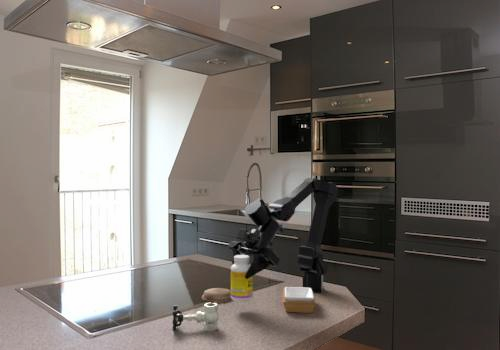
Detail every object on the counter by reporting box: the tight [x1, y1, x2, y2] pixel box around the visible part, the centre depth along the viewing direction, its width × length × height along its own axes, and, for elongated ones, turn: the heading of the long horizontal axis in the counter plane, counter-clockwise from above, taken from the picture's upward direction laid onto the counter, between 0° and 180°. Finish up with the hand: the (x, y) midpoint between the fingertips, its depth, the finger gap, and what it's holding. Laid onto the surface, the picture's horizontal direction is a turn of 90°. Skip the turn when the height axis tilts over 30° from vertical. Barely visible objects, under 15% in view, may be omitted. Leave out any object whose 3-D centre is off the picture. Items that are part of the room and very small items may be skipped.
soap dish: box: [282, 286, 317, 314], centre depth 128 cm, size 12×10×5 cm
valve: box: [171, 302, 220, 332], centre depth 109 cm, size 7×7×12 cm
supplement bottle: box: [230, 255, 254, 302], centre depth 124 cm, size 7×7×13 cm
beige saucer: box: [201, 287, 232, 304], centre depth 136 cm, size 10×10×2 cm
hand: (238, 275), depth 123 cm, fingers closed on supplement bottle, 7 cm apart
